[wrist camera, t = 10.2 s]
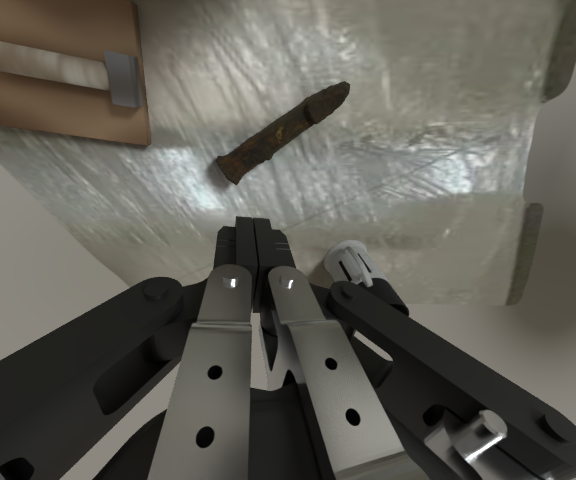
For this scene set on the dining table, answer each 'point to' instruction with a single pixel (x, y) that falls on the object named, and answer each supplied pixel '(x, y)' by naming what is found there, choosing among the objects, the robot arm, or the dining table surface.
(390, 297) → the glass holder
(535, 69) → the dining table surface
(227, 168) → the dark brown tapered rod
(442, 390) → the robot arm
